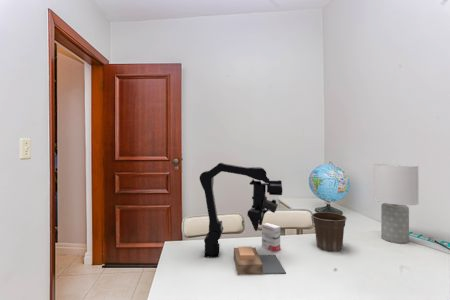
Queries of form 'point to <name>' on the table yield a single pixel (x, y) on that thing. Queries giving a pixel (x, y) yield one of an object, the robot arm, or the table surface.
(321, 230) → the plant pot
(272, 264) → the mat
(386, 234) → the lamp
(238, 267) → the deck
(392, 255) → the table surface
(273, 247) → the ink box
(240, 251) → the light orange block
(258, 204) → the robot arm
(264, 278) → the table surface
